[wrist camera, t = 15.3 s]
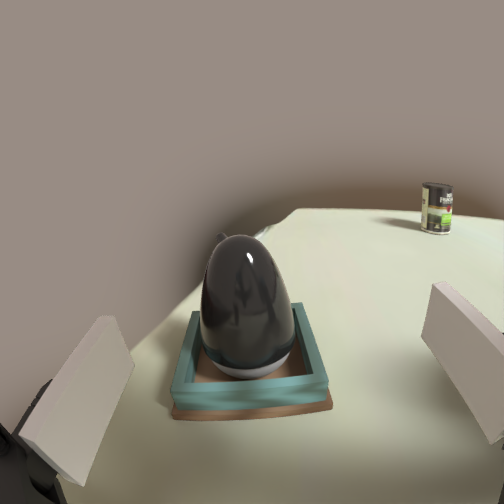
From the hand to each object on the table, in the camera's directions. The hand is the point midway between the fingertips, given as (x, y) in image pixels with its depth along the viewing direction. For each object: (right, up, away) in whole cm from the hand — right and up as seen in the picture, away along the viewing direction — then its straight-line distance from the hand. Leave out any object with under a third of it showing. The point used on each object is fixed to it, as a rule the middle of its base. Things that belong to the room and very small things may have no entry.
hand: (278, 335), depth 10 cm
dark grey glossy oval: (-1, -10, +21) cm, 23 cm away
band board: (-1, -10, +21) cm, 24 cm away
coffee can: (+55, +10, +63) cm, 85 cm away
